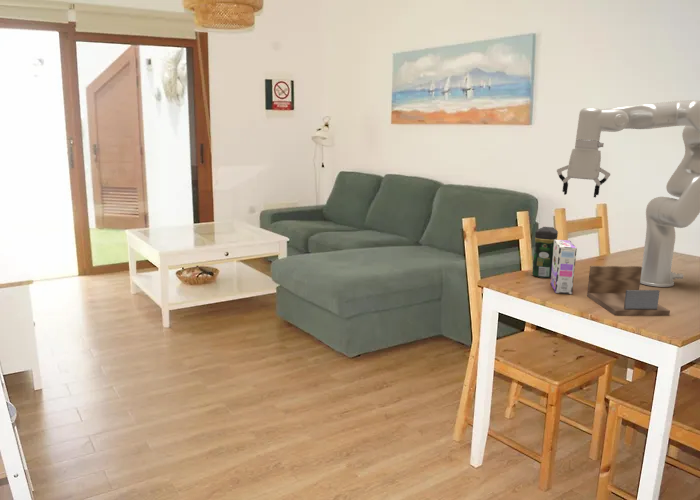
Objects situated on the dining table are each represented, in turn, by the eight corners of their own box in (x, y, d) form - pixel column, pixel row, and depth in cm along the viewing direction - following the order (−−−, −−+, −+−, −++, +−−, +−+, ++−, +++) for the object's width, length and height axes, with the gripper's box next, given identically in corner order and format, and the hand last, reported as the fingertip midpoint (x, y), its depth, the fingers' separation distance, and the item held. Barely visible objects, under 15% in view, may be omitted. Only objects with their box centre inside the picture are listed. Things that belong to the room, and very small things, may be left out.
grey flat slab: (655, 308, 182) (658, 290, 181) (657, 309, 182) (659, 290, 180) (623, 308, 182) (626, 290, 181) (625, 309, 181) (627, 290, 180)
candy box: (572, 294, 201) (577, 247, 198) (554, 293, 203) (559, 246, 199) (566, 284, 215) (570, 239, 211) (549, 282, 216) (553, 238, 212)
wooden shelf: (636, 296, 201) (640, 266, 198) (669, 315, 181) (674, 282, 179) (587, 296, 200) (590, 265, 198) (614, 315, 181) (618, 282, 178)
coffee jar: (534, 271, 232) (538, 224, 228) (555, 273, 229) (559, 226, 225) (529, 276, 224) (533, 228, 220) (551, 279, 220) (556, 230, 216)
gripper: (614, 147, 201) (607, 197, 205) (561, 143, 208) (555, 192, 212) (614, 147, 195) (606, 199, 198) (559, 144, 201) (552, 194, 205)
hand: (579, 195), depth 205 cm, fingers open, 9 cm apart
